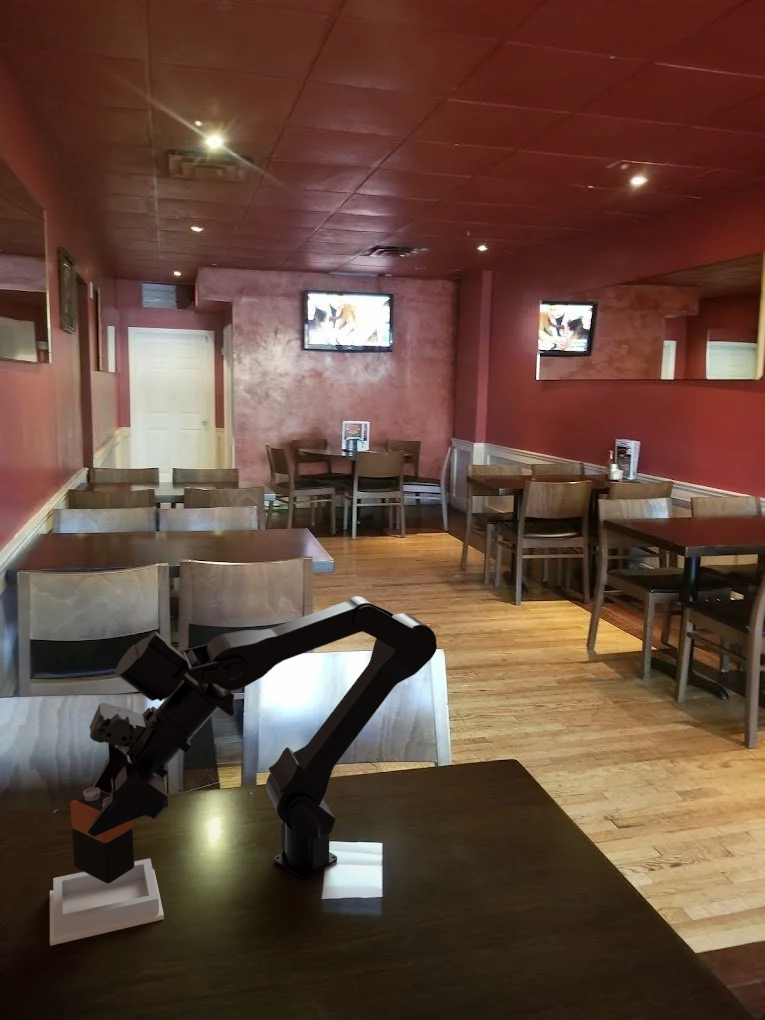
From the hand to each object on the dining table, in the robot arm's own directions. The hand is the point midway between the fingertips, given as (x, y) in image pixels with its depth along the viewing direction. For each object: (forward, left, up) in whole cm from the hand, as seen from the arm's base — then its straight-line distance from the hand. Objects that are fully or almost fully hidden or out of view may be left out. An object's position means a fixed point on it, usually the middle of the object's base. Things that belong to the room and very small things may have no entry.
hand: (89, 817), depth 98 cm
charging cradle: (-1, -1, -12) cm, 12 cm away
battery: (-1, -1, -7) cm, 8 cm away
